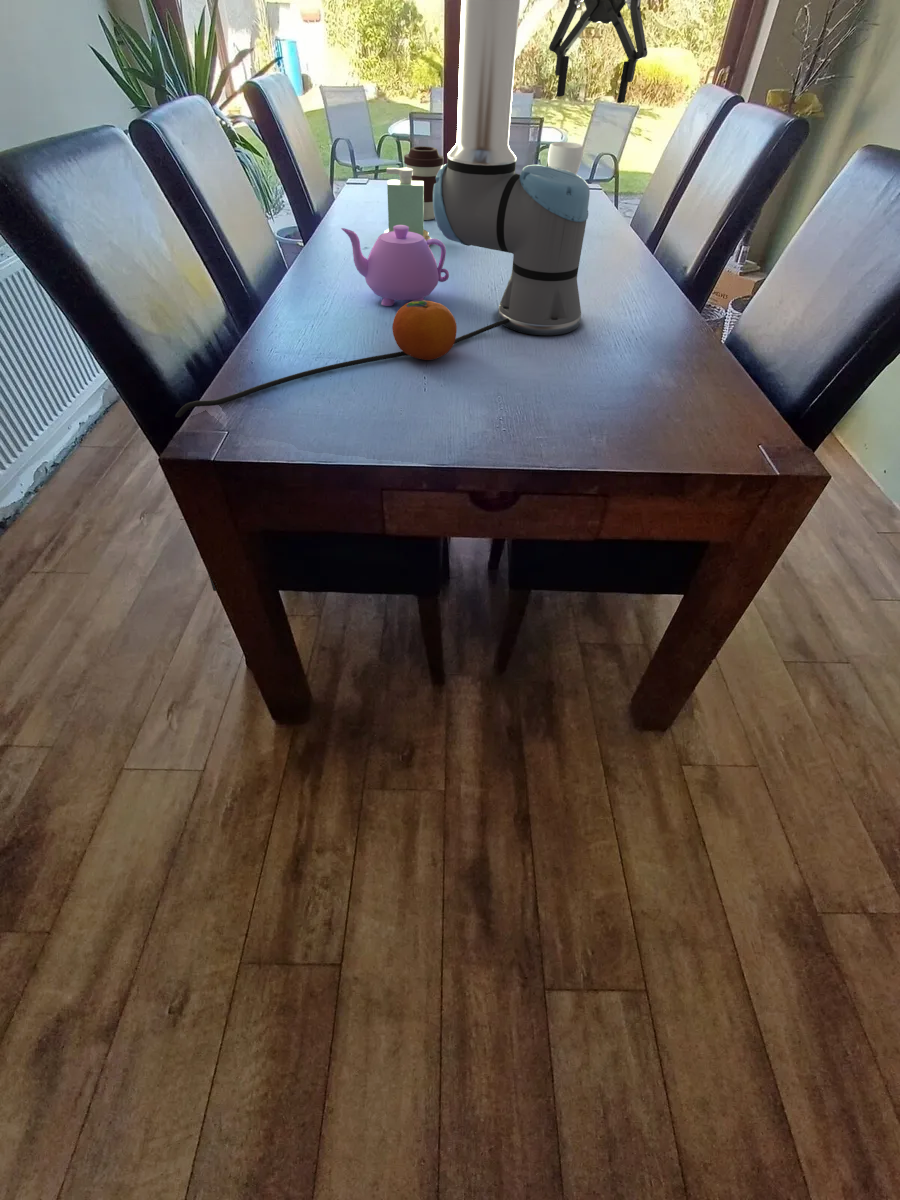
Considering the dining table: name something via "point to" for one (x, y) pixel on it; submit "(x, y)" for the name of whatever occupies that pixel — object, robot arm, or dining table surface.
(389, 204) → the soap bottle
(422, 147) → the coffee cup
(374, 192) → the dining table surface
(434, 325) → the fruit
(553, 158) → the cup
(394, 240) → the teapot
